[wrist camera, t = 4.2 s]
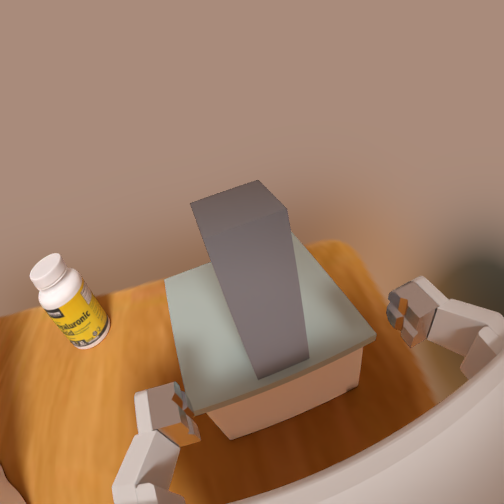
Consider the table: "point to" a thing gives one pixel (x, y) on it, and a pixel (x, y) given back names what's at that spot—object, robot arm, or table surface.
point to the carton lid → (255, 304)
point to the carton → (289, 398)
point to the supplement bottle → (70, 302)
